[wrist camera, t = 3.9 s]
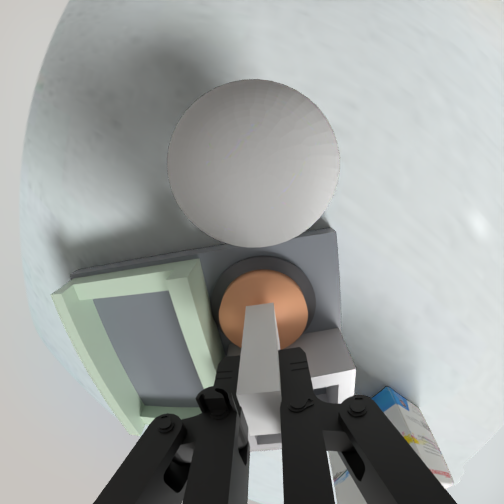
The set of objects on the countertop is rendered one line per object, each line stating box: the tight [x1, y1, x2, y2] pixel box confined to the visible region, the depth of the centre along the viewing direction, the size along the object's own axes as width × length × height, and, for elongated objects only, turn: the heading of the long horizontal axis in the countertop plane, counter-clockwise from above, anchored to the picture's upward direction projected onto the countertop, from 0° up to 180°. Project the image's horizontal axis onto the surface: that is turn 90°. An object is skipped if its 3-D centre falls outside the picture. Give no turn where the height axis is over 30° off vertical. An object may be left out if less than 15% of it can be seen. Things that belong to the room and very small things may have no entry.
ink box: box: [328, 386, 454, 504], centre depth 17 cm, size 9×8×12 cm
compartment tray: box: [51, 228, 356, 452], centre depth 17 cm, size 15×19×6 cm
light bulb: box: [167, 79, 340, 248], centre depth 11 cm, size 6×6×10 cm
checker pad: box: [219, 269, 308, 350], centre depth 16 cm, size 5×5×1 cm
